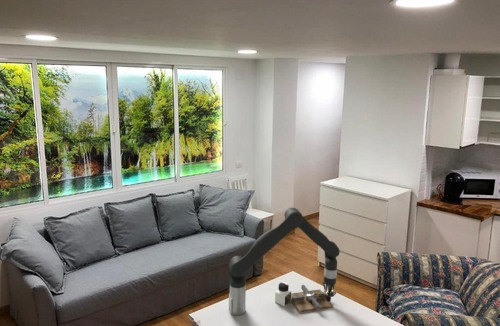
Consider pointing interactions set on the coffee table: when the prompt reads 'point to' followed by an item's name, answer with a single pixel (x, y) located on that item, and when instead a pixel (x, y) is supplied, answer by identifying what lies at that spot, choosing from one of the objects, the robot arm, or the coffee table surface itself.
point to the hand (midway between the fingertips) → (328, 301)
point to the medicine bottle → (283, 294)
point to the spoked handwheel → (310, 296)
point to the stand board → (310, 303)
